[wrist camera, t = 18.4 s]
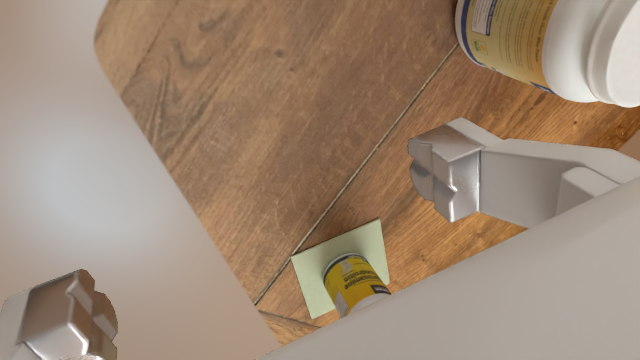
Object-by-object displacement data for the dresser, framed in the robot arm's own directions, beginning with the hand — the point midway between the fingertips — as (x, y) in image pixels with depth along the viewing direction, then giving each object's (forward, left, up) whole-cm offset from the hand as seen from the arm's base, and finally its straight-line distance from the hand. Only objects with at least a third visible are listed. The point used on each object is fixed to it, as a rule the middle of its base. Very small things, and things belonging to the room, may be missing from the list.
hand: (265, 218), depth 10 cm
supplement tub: (+32, -8, -29) cm, 44 cm away
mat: (+9, -35, -29) cm, 46 cm away
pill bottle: (+9, -35, -29) cm, 46 cm away
